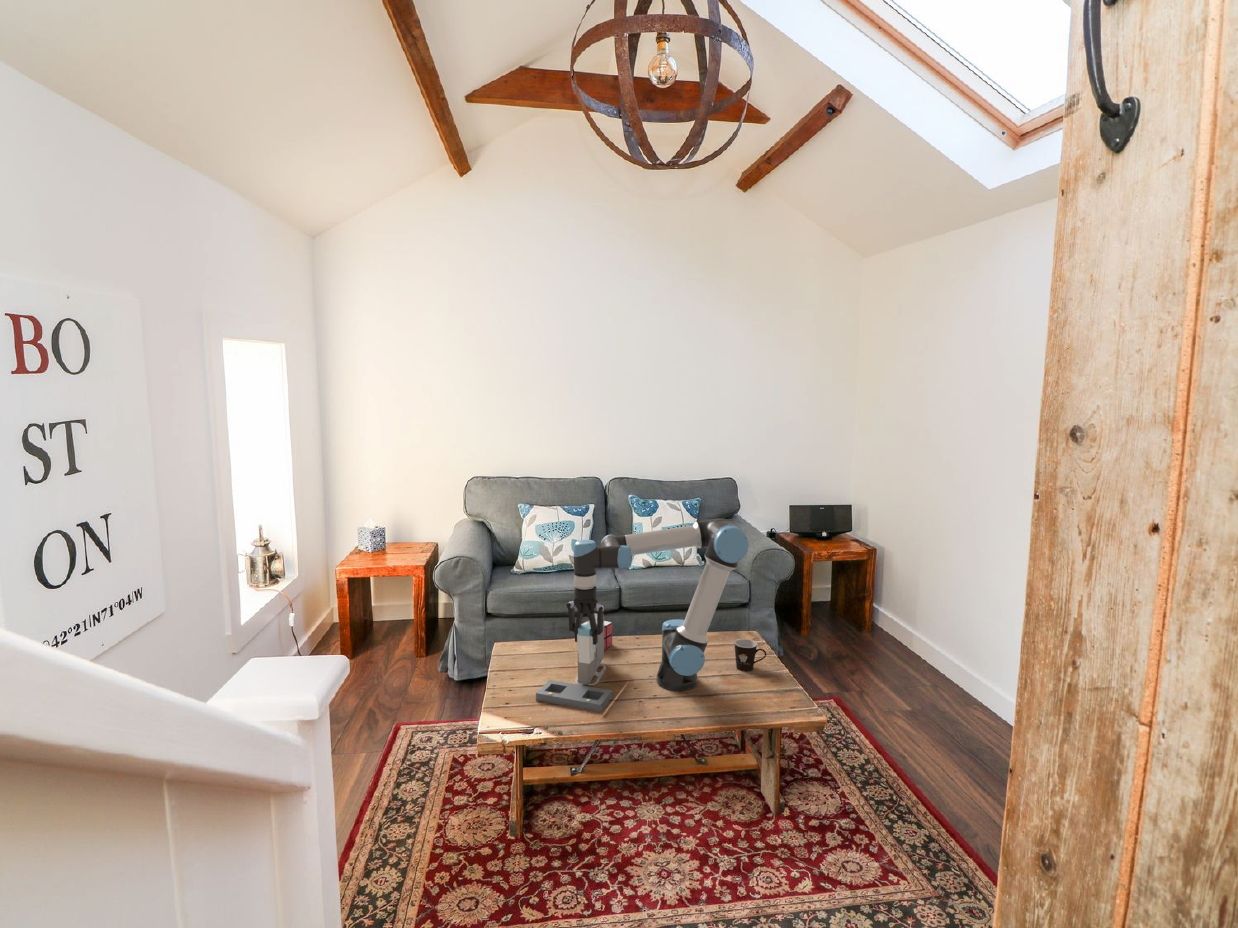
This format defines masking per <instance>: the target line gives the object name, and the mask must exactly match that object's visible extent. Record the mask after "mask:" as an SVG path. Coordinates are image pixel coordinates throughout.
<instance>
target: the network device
mask: <svg viewBox="0 0 1238 928" xmlns="http://www.w3.org/2000/svg"><path fill="white" fill-rule="evenodd" d="M594 615H595V620H596V624H597V613H595V614H594ZM587 621H588V623H587V624H586V625H590V622H589V620H587ZM604 621H605V615H604V613H603V632H602V633H601V634H600V635H598V642H597V644H596V645H595V652H594V660H593V661H592V662H591V663H590V664H588V663H581V662H579V653H578V652H577V676H576V677H575V679H574V684H577V685H583V686H594V685H597V684H598V683H599V681H600V680H601V678H602V677H603V675H604V673H605V671H606V670H607V665H606V664H604V663H601V662H602V661H604V660H603V659H604V654H605V653H604V652H605V651H604ZM599 667H600V668H601V667H602V669H601V671H599V672H598V671H597V670H598V668H599ZM593 677H597V678H596V680H595V682H593V683H591V681H592V679H593Z"/></svg>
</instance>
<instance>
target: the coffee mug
mask: <svg viewBox="0 0 1238 928" xmlns="http://www.w3.org/2000/svg"><path fill="white" fill-rule="evenodd" d="M757 646H758V643H757V642H756V641H754V640H751V639H748V638H747V639H746V638H739V639H736V640H735V641H734V652H735V653H734V654H735V667H736V669H737V670H738V671H740V672H746V673H747V672H752V671H753V670H754V666H755V664H756V663H758V662H760V661H762V660H764V659H765V658H766V656H767V652H766V650H765V649H763V648H757ZM759 651H761V652H763V653H764V656H763V657H761V658H760V659H755V658H756V655H757V652H759ZM755 660H756V661H755Z"/></svg>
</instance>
